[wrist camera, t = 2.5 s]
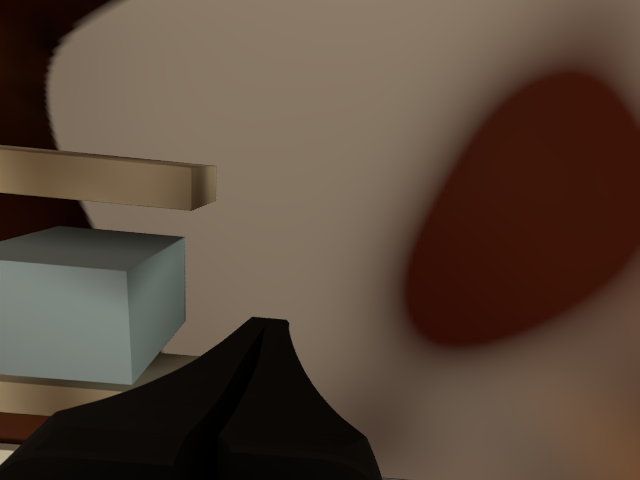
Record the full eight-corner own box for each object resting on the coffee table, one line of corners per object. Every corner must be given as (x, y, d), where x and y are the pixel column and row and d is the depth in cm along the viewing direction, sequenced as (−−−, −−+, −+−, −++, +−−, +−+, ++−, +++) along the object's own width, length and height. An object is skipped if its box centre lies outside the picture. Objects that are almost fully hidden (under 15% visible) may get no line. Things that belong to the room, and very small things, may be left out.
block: (185, 236, 16) (126, 271, 11) (185, 320, 17) (132, 384, 12) (60, 225, 16) (-54, 255, 11) (69, 310, 17) (-32, 371, 12)
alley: (216, 166, 15) (191, 168, 12) (212, 383, 18) (191, 427, 15) (-28, 142, 15) (-113, 138, 12) (7, 365, 18) (-55, 407, 15)
